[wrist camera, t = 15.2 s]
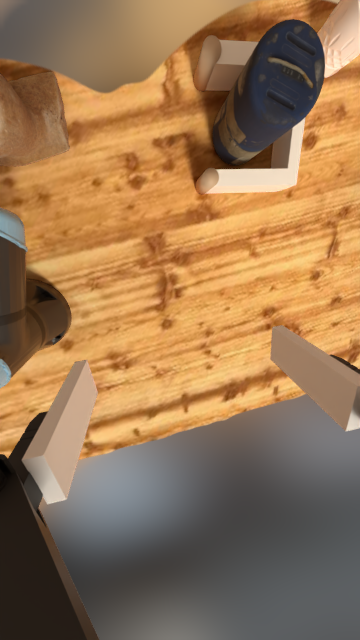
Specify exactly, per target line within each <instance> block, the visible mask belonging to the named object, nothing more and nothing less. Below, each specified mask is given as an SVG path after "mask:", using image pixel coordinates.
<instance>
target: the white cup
mask: <svg viewBox="0 0 360 640" xmlns="http://www.w3.org/2000/svg"><path fill="white" fill-rule="evenodd" d="M317 35H318V36H319V38H320V41H321V43H322V46H323V50H324V55H325V74H324V77H325V78H327V77H329V76H331V75H333V74H335V73H336V72H337V71H339V70H340V69H341V68H342V67H343V66H345V65H347V64H348V63H349V62H351V61H352V60H353V59H354V58H356V57H357V56H358V55H360V0H340V2H339V3H338V4H337V6H336V7H335V8H334V10H333V11H332V13H331V14H330V15H329V17H328V19H327V20H326V22H325V23H324V25H323V26H322V28H321V29H320V30H319V31H318V33H317Z"/></svg>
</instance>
